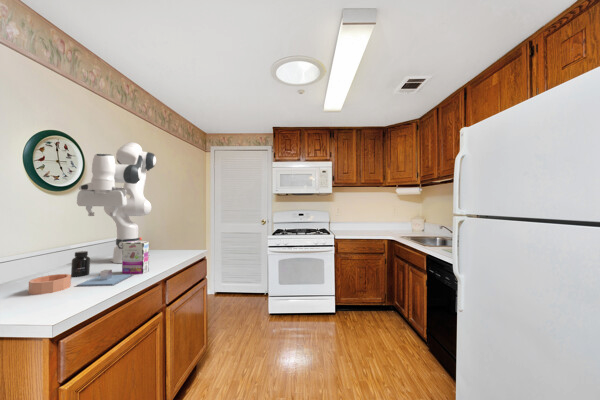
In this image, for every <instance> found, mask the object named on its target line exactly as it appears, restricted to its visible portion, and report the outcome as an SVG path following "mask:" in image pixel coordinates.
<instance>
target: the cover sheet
mask: <svg viewBox="0 0 600 400" xmlns="http://www.w3.org/2000/svg"><path fill="white" fill-rule="evenodd" d="M131 275H132V274H113V269H103V270H100V275H98V276H95V277H93V278H90V279H87V280H85V281H83V282H80V283H78V284H77V285H78V286H91V287H98V286H97V285H114V284H116V283H118V282H120V281H121V280H123V279H125V278H127V277H129V276H131ZM120 283H121V282H120ZM118 284H119V283H118ZM116 285H117V284H116ZM114 286H115V285H114Z"/></svg>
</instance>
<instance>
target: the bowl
mask: <svg viewBox="0 0 600 400" xmlns="http://www.w3.org/2000/svg"><path fill="white" fill-rule="evenodd" d="M71 286H72V277H71V274H69V273H58V274H50V275H49V274H48V275H44V276H39V277H36V278H31V279H30V280H29V281H28V290H27V291H28V294H29V295H32V296H35V295H46V294H52V293H56V292H57V293H58V292H61V291H64V290H67V289H69V288H71Z"/></svg>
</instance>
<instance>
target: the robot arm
mask: <svg viewBox="0 0 600 400" xmlns="http://www.w3.org/2000/svg"><path fill="white" fill-rule="evenodd" d="M116 151H117V152H116V153H115V155H113V154H107V153H96V154H94V155H93V159H92V164H91V173H92V177H91V178H90V179H91V180H90V181H91V182H88V183H85V184H81V185H79V186H78V190H79V191H78V193H77V196H76V204H77V206H78V207H85V209H86V211H87V214H88V215H87V216H88V217H94V216H95V212H93V210H92V209H93V207H103V210H104V212H105V213H106V214H107V216H109V217H111V219H112V220H113V222H114V224H115V225H116V226H115V227H116V239H115V245H116V246H115V247H114V249H113V255H112V259H110V262H112V263H114V264H122V252H123V242H128V241H142V239H143V237H139V233H140V232H139V225H138V224H137V223H136V222H134V221H132V220H131V219H130V217H143V216H147V215H149V214H150V213H151V211H152V208H153V207H152V204H151V202H150V201H149V200H148V199H147V198H146V197H145V195H144V192H145V191H144V189H145V186H146V181H147V172H149V171H150V170H152V169H153V168H155V166H156V163H157V157H156V155H155V154H154V153H153V152H150V151H143V148H142V146H141V145H140V144H138V143H137V142H134V141H133V142H132V141H131V142H127V143H126V144H123V145H122V146H120V147H119V148H118V149H117V150H116ZM115 157H116V160H115ZM116 162H117V163H116ZM116 183H117V184H118V183H119V184H123V187H122V186H121V187H116ZM127 195H128V196H129V198H127ZM149 257H150V254H149Z"/></svg>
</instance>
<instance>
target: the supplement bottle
mask: <svg viewBox="0 0 600 400" xmlns="http://www.w3.org/2000/svg"><path fill="white" fill-rule="evenodd" d="M88 253H89V252H88V250H87V251H86V250H85V251H84V250H82V251H75V252H74V257H73V258H72V259H71V265H70V266H71V269H70V271H71V272H70V273H71V274H70V275H71V278H82V277H86V276H89V275H90V272H91V271H90V269H91V268H90V266H91V258H90V256H89V254H88Z"/></svg>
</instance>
